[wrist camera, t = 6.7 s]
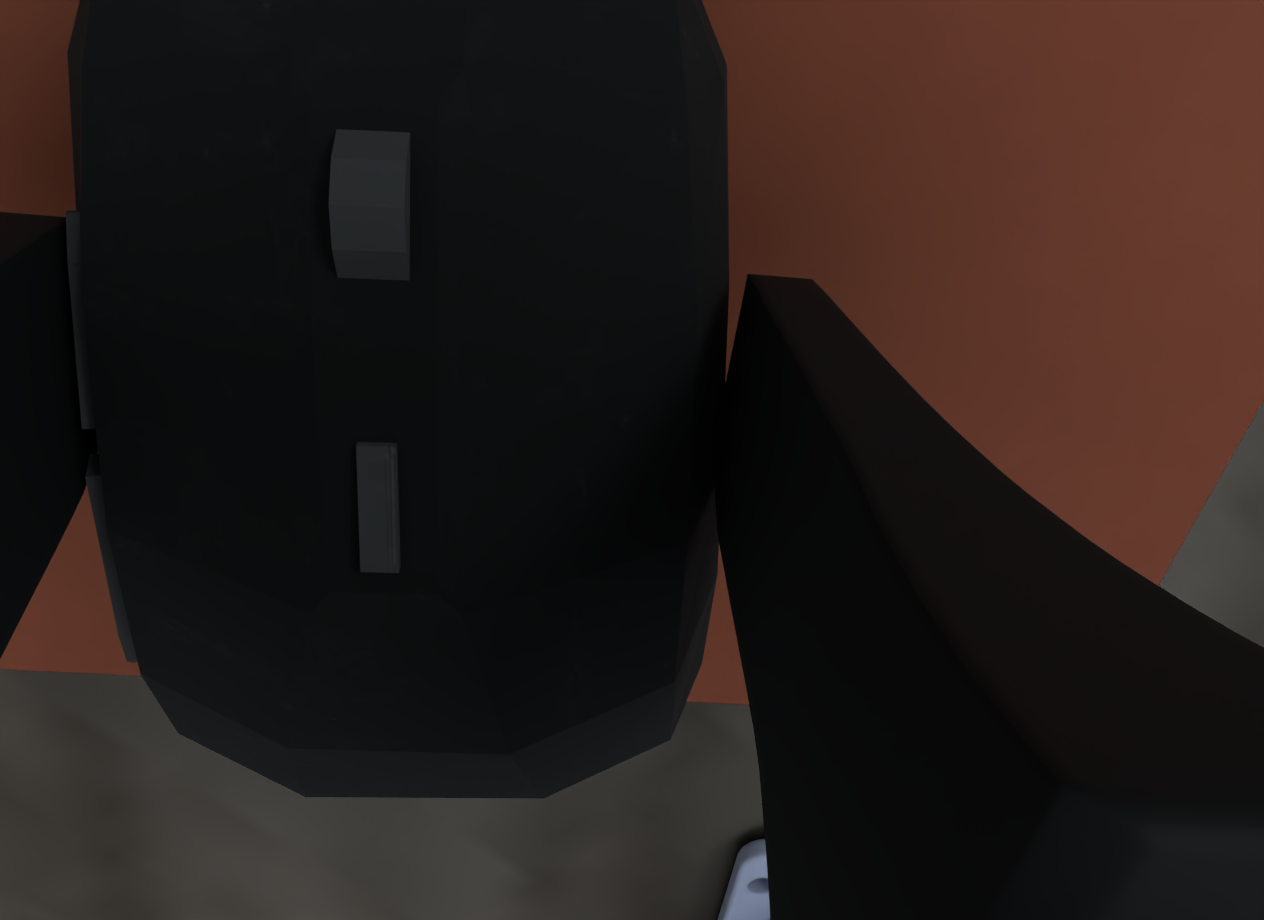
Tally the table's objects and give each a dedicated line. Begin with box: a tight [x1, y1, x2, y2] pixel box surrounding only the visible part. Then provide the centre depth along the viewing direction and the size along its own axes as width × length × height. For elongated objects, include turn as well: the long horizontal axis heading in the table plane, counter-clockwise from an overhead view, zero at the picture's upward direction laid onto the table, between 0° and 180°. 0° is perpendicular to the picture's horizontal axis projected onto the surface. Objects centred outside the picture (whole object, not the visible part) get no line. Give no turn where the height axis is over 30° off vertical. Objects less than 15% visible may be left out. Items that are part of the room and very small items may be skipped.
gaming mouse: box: [66, 0, 729, 798], centre depth 10 cm, size 6×15×4 cm, turn 176°
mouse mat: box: [0, 0, 1264, 705], centre depth 13 cm, size 17×21×1 cm
